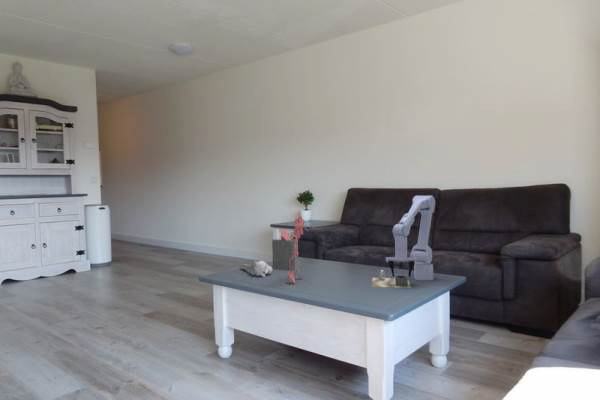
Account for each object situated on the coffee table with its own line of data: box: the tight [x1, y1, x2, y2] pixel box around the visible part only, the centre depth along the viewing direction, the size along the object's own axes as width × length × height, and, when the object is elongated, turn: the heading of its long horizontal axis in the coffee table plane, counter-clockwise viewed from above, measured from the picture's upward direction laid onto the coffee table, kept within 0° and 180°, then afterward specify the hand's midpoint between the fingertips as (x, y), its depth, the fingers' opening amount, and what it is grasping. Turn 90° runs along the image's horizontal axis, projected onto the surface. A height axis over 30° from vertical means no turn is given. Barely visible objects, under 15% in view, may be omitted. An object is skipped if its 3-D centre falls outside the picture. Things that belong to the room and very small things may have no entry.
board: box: [371, 277, 412, 289], centre depth 212 cm, size 18×20×1 cm
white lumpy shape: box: [254, 260, 273, 278], centre depth 240 cm, size 6×8×12 cm
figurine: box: [279, 215, 315, 286], centre depth 222 cm, size 15×26×35 cm, turn 157°
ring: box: [394, 275, 409, 286], centre depth 207 cm, size 6×6×4 cm
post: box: [379, 269, 386, 281], centre depth 218 cm, size 3×3×5 cm
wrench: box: [239, 260, 258, 276], centre depth 248 cm, size 8×2×30 cm
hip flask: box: [271, 235, 296, 272], centre depth 257 cm, size 16×4×20 cm, turn 56°
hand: (401, 276), depth 206 cm, fingers open, 7 cm apart
